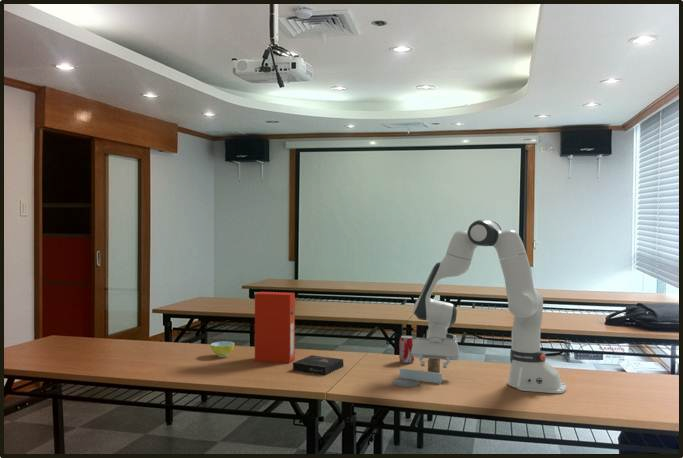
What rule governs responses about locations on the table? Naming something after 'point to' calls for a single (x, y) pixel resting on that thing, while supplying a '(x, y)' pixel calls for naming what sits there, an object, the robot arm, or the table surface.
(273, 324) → the file binder
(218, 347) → the bowl
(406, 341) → the soda can
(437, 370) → the walnut block
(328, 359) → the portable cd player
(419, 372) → the acrylic wall
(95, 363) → the table surface
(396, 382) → the coaster
